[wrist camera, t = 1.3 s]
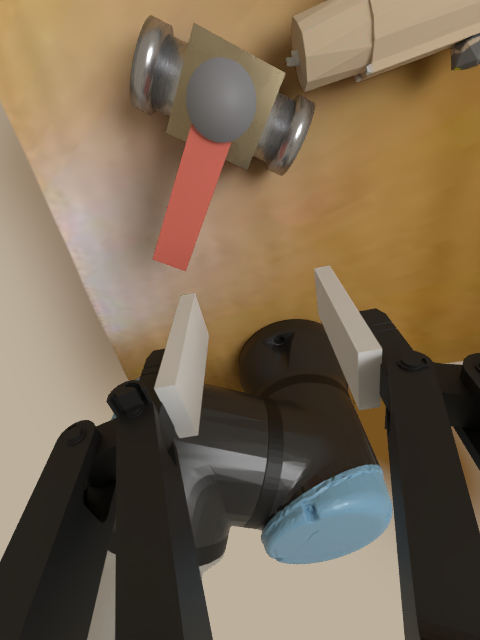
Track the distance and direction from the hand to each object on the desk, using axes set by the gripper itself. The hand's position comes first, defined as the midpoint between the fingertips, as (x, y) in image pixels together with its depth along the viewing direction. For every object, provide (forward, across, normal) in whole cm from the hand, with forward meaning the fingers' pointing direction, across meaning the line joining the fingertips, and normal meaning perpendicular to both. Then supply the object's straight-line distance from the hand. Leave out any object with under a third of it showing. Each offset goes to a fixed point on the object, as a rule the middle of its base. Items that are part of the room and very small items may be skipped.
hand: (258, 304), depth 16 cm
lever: (+14, +3, -5) cm, 15 cm away
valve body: (+21, 0, -9) cm, 23 cm away
